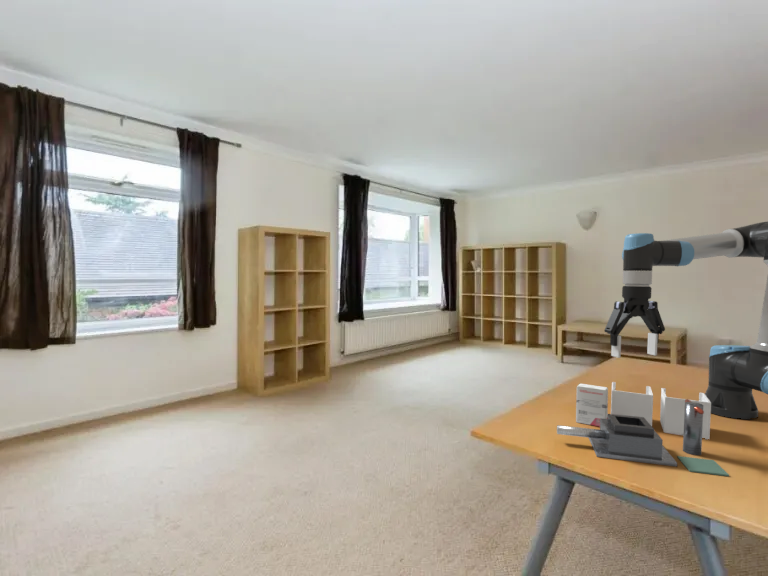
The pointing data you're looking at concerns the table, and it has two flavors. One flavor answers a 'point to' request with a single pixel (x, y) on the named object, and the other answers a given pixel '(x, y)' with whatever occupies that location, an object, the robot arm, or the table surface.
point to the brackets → (669, 409)
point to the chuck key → (693, 428)
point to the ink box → (591, 404)
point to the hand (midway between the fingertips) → (634, 355)
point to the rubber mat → (702, 466)
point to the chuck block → (624, 440)
